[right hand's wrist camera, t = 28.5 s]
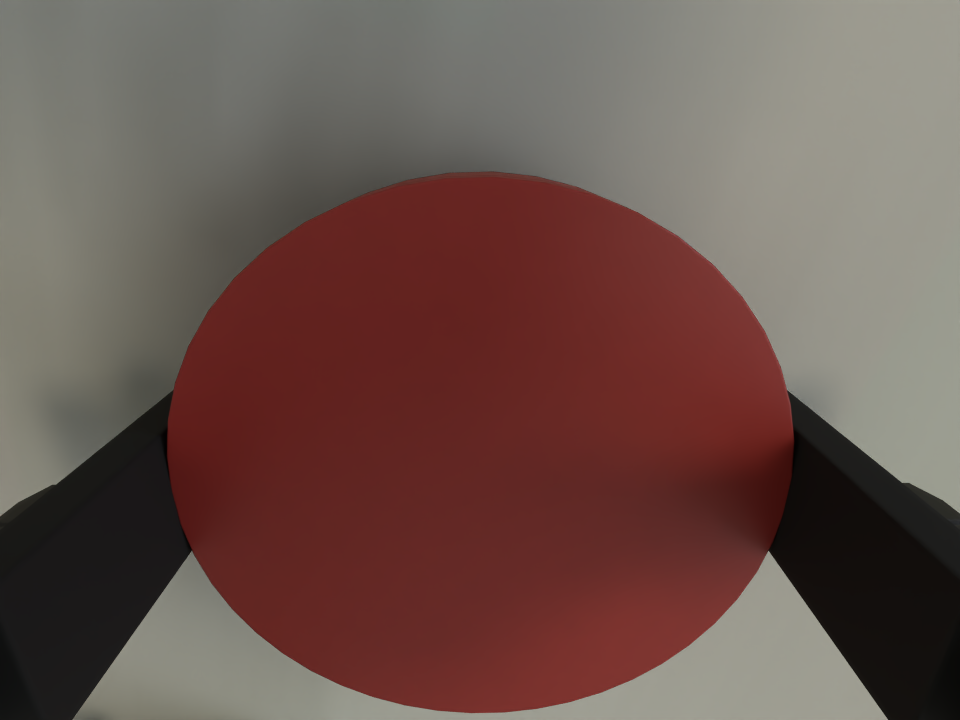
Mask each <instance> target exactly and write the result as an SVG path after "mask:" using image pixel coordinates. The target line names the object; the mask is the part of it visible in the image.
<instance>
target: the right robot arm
mask: <svg viewBox="0 0 960 720" xmlns="http://www.w3.org/2000/svg"><path fill="white" fill-rule="evenodd" d="M173 391H174V390H173ZM173 391H172V392H171V393H169V394H168V395H167V396H166V397H164V398H163V399H162V400H161V401H159V402H158V403H157V404H156V405H154V406H153V407H152V408H151V409H149V410H148V411H147V412H146V413H145V414H143V415H142V416H141V417H140V418H138V419H137V420H136V421H135V422H133V423H132V424H131V425H130V426H128V427H127V428H126V429H125V430H123V431H122V432H121V433H120V434H118V435H117V436H116V437H115V438H114V439H112V440H111V441H110V442H109V443H107V444H106V445H105V446H104V447H102V448H101V449H100V450H99V451H97V452H96V453H95V454H94V455H92V456H91V457H90V458H89V459H87V460H86V461H85V462H84V463H83V464H81V465H80V466H79V467H78V468H76V469H75V470H74V471H73V472H71V473H70V474H69V475H68V476H66V477H65V478H64V479H63V480H61V481H60V482H59V483H58V484H56V485H51V486H49V487H47V488H45V489H43V490H42V491H40V492H38V493H36V494H34V495H32V496H30V497H28V498H26V499H24V500H22V501H20V502H18V503H17V504H16V505H14V506H13V507H12V508H11V509H9V510H8V511H7V512H6V513H4V514H3V515H2V516H0V720H72V719H73V718H74V716H75V715H76V714H77V712H78V711H79V709H80V708H81V707H82V705H83V704H84V702H85V701H86V699H87V698H88V697H89V695H90V694H91V692H92V691H93V690H94V688H95V687H96V685H97V684H98V682H99V681H100V680H101V678H102V677H103V675H104V674H105V673H106V671H107V670H108V668H109V667H110V665H111V664H112V663H113V661H114V660H115V658H116V657H117V656H118V654H119V653H120V651H121V650H122V649H123V647H124V646H125V644H126V643H127V641H128V640H129V639H130V637H131V636H132V634H133V633H134V632H135V630H136V629H137V627H138V626H139V624H140V623H141V622H142V620H143V619H144V617H145V616H146V615H147V613H148V612H149V610H150V609H151V607H152V606H153V605H154V603H155V602H156V600H157V599H158V598H159V596H160V595H161V593H162V592H163V591H164V589H165V588H166V586H167V585H168V583H169V582H170V581H171V579H172V578H173V576H174V575H175V574H176V572H177V571H178V569H179V568H180V566H181V565H182V564H183V562H184V561H185V559H186V558H187V557H188V555H189V554H190V552H191V551H192V549H191V547H190V545H189V542H188V540H187V538H186V535H185V533H184V531H183V529H182V526H181V524H180V520H179V516H178V512H177V508H176V505H175V501H174V497H173V493H172V488H171V484H170V478H169V470H168V462H167V434H168V417H169V412H170V407H171V401H172V396H173ZM787 393H788V396H789V400H790V404H791V414H792V424H793V434H794V453H793V470H792V478H791V482H790V487H789V491H788V495H787V499H786V503H785V508H784V512H783V515H782V519H781V522H780V525H779V527H778V530H777V533H776V535H775V538H774V541H773V543H772V545H771V547H770V549H769V552H770V553H771V555H772V556H773V557H774V559H775V560H776V562H777V563H778V565H779V566H780V567H781V569H782V570H783V572H784V573H785V574H786V576H787V577H788V579H789V580H790V582H791V583H792V584H793V586H794V587H795V589H796V590H797V591H798V593H799V594H800V596H801V597H802V598H803V600H804V601H805V603H806V604H807V606H808V607H809V608H810V610H811V611H812V613H813V614H814V615H815V617H816V618H817V620H818V621H819V623H820V624H821V625H822V627H823V628H824V630H825V631H826V632H827V634H828V635H829V637H830V638H831V639H832V641H833V642H834V644H835V645H836V647H837V648H838V649H839V651H840V652H841V654H842V655H843V656H844V658H845V659H846V661H847V662H848V664H849V665H850V666H851V668H852V669H853V671H854V672H855V673H856V675H857V676H858V678H859V679H860V681H861V682H862V683H863V685H864V686H865V688H866V689H867V690H868V692H869V693H870V695H871V696H872V697H873V699H874V700H875V702H876V703H877V705H878V706H879V707H880V709H881V710H882V712H883V713H884V714H885V716H886V717H887V719H888V720H960V513H958V512H957V511H956V510H954V509H953V508H952V507H951V506H949V505H948V504H947V503H945V502H944V501H943V500H941V499H939V498H937V497H935V496H933V495H931V494H929V493H927V492H925V491H923V490H921V489H919V488H917V487H916V486H914V485H912V484H910V483H901V482H900V481H899V480H898V479H896V478H895V477H894V476H893V475H892V474H890V473H889V472H888V471H887V470H885V469H884V468H883V467H882V466H880V465H879V464H878V463H877V462H875V461H874V460H873V459H872V458H870V457H869V456H868V455H867V454H865V453H864V452H863V451H862V450H861V449H859V448H858V447H857V446H856V445H854V444H853V443H852V442H851V441H849V440H848V439H847V438H846V437H844V436H843V435H842V434H841V433H839V432H838V431H837V430H836V429H834V428H833V427H832V426H831V425H830V424H828V423H827V422H826V421H825V420H823V419H822V418H821V417H820V416H818V415H817V414H816V413H815V412H813V411H812V410H811V409H810V408H808V407H807V406H806V405H805V404H803V403H802V402H801V401H800V400H799V399H797V398H796V397H795V396H794V395H792V394H791V393H790V392H789V391H787Z"/></svg>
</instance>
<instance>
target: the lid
mask: <svg viewBox="0 0 960 720" xmlns="http://www.w3.org/2000/svg"><path fill="white" fill-rule="evenodd" d="M793 453H794V434H793V424H792V414H791V404H790V400H789V396H788V393H787V389H786V385H785V381H784V378H783V374H782V370H781V367H780V364H779V362H778V360H777V358H776V355H775V353H774V351H773V349H772V346H771V344H770V342H769V340H768V337H767V335H766V333H765V331H764V329H763V328H762V326H761V325H760V323H759V322H758V320H757V319H756V317H755V316H754V314H753V312H752V311H751V309H750V308H749V306H748V305H747V303H746V302H745V300H744V299H743V297H742V296H741V295H740V294H739V293H738V292H737V290H736V289H735V288H734V287H733V286H732V285H731V284H730V283H729V282H728V280H727V279H726V278H725V277H724V276H723V275H722V274H721V273H720V272H719V271H718V269H717V268H716V267H715V266H714V265H713V264H712V263H710V262H709V261H708V260H707V259H706V258H704V257H703V256H702V255H701V254H699V253H698V252H697V251H696V250H694V249H693V248H692V247H691V246H690V245H688V244H687V243H686V242H685V241H683V240H682V239H681V238H680V237H678V236H677V235H675V234H673V233H672V232H670V231H668V230H667V229H665V228H663V227H662V226H660V225H658V224H656V223H655V222H653V221H651V220H650V219H648V218H646V217H645V216H643V215H641V214H640V213H638V212H636V211H633V210H631V209H629V208H626V207H624V206H622V205H620V204H617V203H615V202H613V201H610V200H608V199H605V198H603V197H600V196H598V195H596V194H593V193H591V192H588V191H586V190H583V189H581V188H578V187H576V186H572V185H568V184H564V183H560V182H556V181H552V180H548V179H544V178H540V177H536V176H528V175H519V174H510V173H501V172H462V173H446V174H440V175H434V176H428V177H422V178H417V179H411V180H406V181H403V182H400V183H397V184H393V185H390V186H387V187H384V188H381V189H378V190H375V191H371V192H368V193H366V194H364V195H361V196H359V197H357V198H354V199H352V200H350V201H348V202H346V203H343V204H341V205H339V206H337V207H335V208H333V209H331V210H329V211H327V212H325V213H323V214H321V215H319V216H317V217H314V218H312V219H310V220H308V221H306V222H304V223H303V224H301V225H300V226H298V227H297V228H296V229H294V230H293V231H291V232H290V233H288V234H287V235H285V236H284V237H282V238H281V239H279V240H278V241H276V242H275V243H273V244H272V245H270V246H269V247H267V248H266V249H265V250H264V251H263V252H262V253H261V254H260V255H259V256H258V257H257V258H255V259H254V260H253V261H252V262H251V263H250V264H249V265H248V266H247V267H246V268H245V269H244V270H242V271H241V272H240V273H239V274H238V275H237V276H236V277H235V278H234V279H233V280H232V282H231V283H230V284H229V285H228V287H227V288H226V289H225V290H224V292H223V293H222V294H221V296H220V297H219V298H218V299H217V301H216V302H215V303H214V304H213V306H212V307H211V308H210V309H209V311H208V312H207V314H206V316H205V318H204V319H203V321H202V323H201V325H200V327H199V328H198V330H197V332H196V334H195V335H194V337H193V339H192V341H191V343H190V344H189V346H188V349H187V352H186V354H185V357H184V360H183V362H182V365H181V368H180V371H179V373H178V376H177V379H176V382H175V386H174V391H173V396H172V401H171V407H170V412H169V417H168V434H167V462H168V470H169V478H170V484H171V488H172V493H173V497H174V501H175V505H176V508H177V512H178V516H179V520H180V524H181V526H182V529H183V531H184V533H185V535H186V538H187V540H188V542H189V545H190V547H191V549H192V551H193V554H194V556H195V557H196V559H197V560H198V562H199V564H200V565H201V567H202V569H203V570H204V572H205V574H206V575H207V577H208V578H209V580H210V582H211V583H212V585H213V586H214V587H215V588H216V590H217V591H218V592H219V593H220V595H221V596H222V597H223V598H224V600H225V601H226V602H227V603H228V604H229V606H230V607H231V608H232V609H233V610H234V611H235V612H236V613H237V614H238V615H239V616H240V617H241V618H242V619H243V620H244V621H245V622H246V623H247V624H248V625H249V626H250V627H251V628H252V629H253V630H254V631H255V632H256V633H257V634H259V635H260V636H261V637H262V638H264V639H265V640H266V641H268V642H269V643H270V644H271V645H273V646H274V647H275V648H277V649H278V650H279V651H280V652H282V653H283V654H285V655H286V656H288V657H290V658H291V659H293V660H294V661H296V662H298V663H299V664H301V665H303V666H304V667H306V668H307V669H309V670H311V671H313V672H315V673H317V674H319V675H321V676H323V677H325V678H327V679H329V680H331V681H333V682H335V683H337V684H340V685H342V686H344V687H347V688H350V689H353V690H355V691H358V692H361V693H364V694H366V695H369V696H372V697H375V698H379V699H383V700H387V701H391V702H394V703H398V704H402V705H407V706H413V707H419V708H425V709H431V710H437V711H450V712H464V713H497V712H512V711H521V710H530V709H538V708H543V707H548V706H553V705H558V704H563V703H568V702H572V701H575V700H578V699H581V698H585V697H588V696H591V695H595V694H598V693H601V692H604V691H606V690H608V689H611V688H613V687H616V686H618V685H621V684H623V683H625V682H628V681H630V680H633V679H634V678H636V677H638V676H640V675H642V674H644V673H646V672H648V671H649V670H651V669H653V668H655V667H657V666H659V665H661V664H662V663H664V662H665V661H667V660H668V659H670V658H671V657H673V656H674V655H676V654H677V653H679V652H680V651H681V650H683V649H684V648H686V647H687V646H689V645H690V644H691V643H692V642H694V641H695V640H696V639H697V638H698V637H699V636H701V635H702V634H703V633H704V632H705V631H706V630H708V629H709V628H710V627H711V626H712V625H714V624H715V623H716V622H717V620H718V619H719V618H720V617H721V616H722V615H723V614H724V613H725V612H726V611H727V610H728V609H729V608H730V606H731V605H732V604H733V603H734V602H735V601H736V600H737V599H738V597H739V596H740V595H741V593H742V592H743V591H744V589H745V588H746V586H747V585H748V584H749V582H750V581H751V579H752V578H753V577H754V575H755V574H756V573H757V571H758V569H759V567H760V565H761V563H762V562H763V560H764V558H765V556H766V554H767V552H768V550H769V549H770V547H771V545H772V543H773V541H774V538H775V535H776V533H777V530H778V527H779V525H780V522H781V519H782V515H783V512H784V508H785V503H786V499H787V495H788V491H789V487H790V482H791V478H792V470H793Z"/></svg>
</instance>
